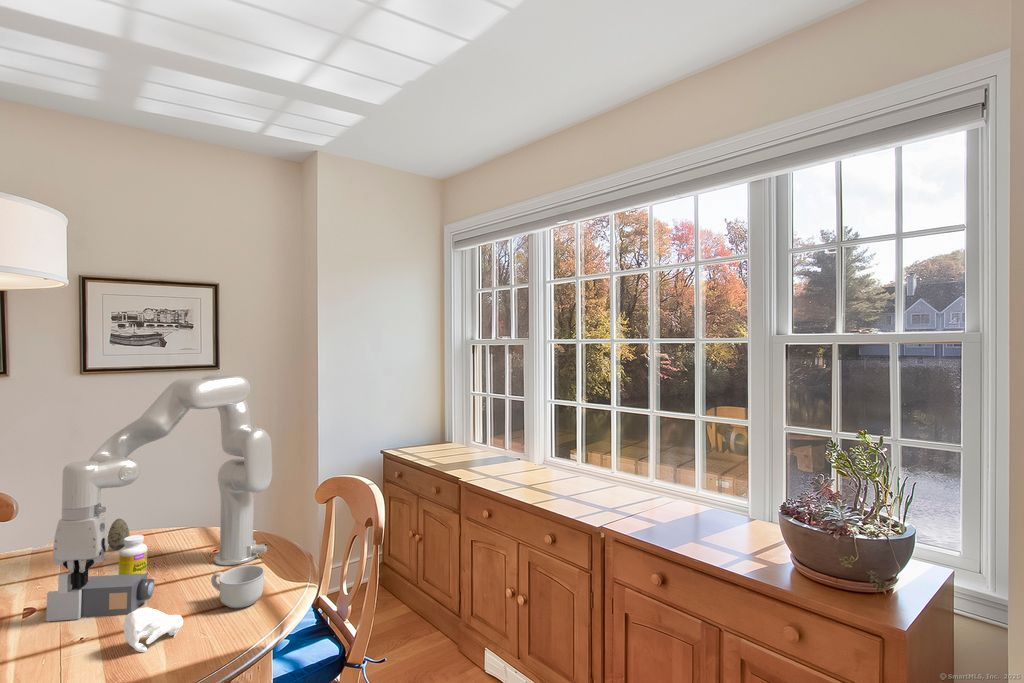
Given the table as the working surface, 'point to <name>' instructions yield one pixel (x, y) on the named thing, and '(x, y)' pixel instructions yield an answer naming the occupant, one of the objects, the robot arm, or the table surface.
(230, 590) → the teacup
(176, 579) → the table surface
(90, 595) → the camera body
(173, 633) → the white figurine
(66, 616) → the grey t-shaped piece
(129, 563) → the supplement bottle
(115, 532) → the decorative egg
